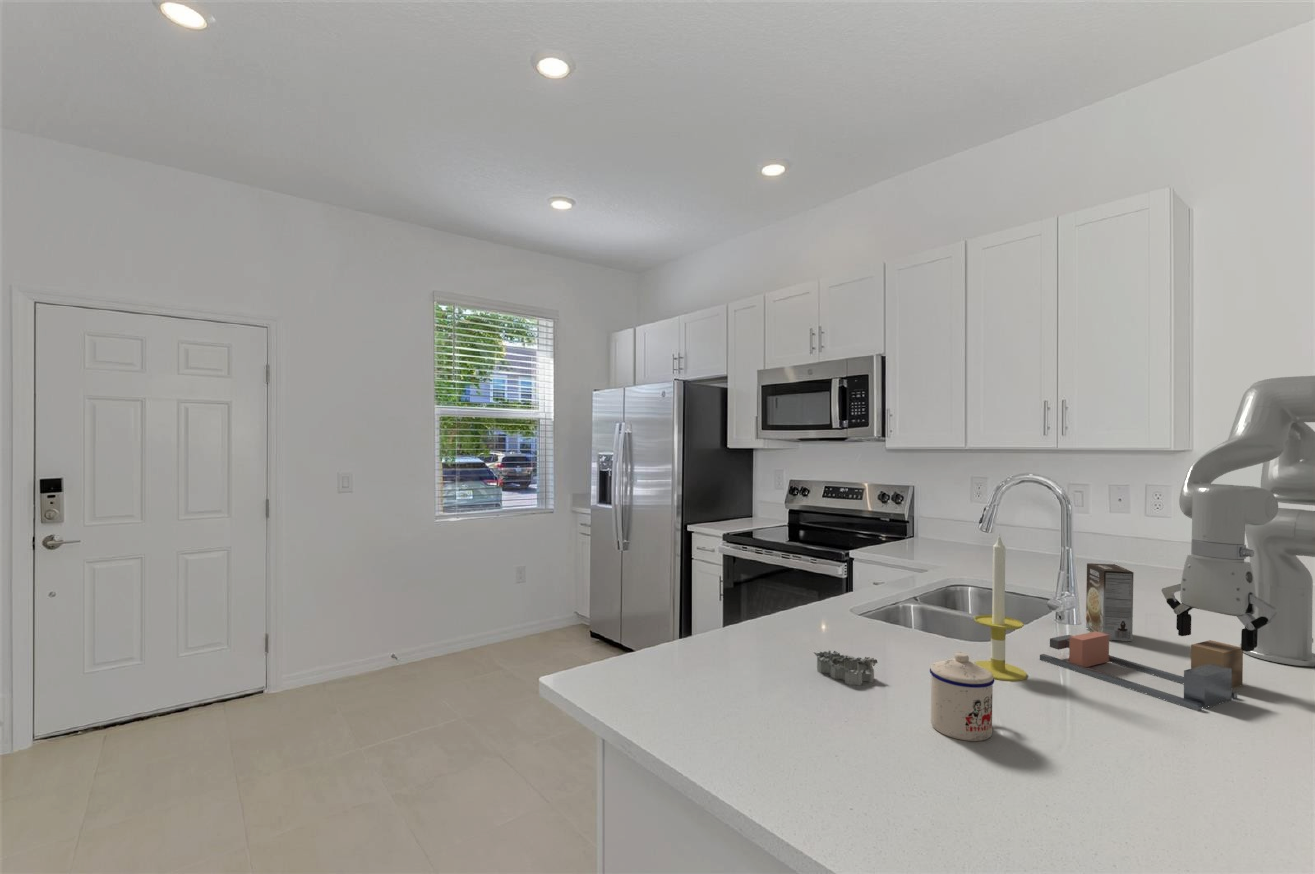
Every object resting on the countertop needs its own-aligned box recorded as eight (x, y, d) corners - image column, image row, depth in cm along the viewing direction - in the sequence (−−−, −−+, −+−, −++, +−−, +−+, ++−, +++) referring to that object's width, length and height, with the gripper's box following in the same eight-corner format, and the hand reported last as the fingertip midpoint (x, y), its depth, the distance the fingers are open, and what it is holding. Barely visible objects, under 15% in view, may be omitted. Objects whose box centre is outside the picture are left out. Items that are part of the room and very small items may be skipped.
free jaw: (1072, 650, 136) (1072, 625, 136) (1108, 661, 129) (1109, 634, 129) (1045, 656, 132) (1046, 630, 132) (1082, 668, 125) (1082, 640, 125)
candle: (969, 675, 121) (971, 535, 122) (968, 659, 130) (970, 528, 131) (1029, 684, 117) (1031, 539, 117) (1024, 667, 126) (1026, 532, 126)
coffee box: (1084, 628, 154) (1085, 562, 154) (1113, 630, 152) (1114, 563, 152) (1102, 640, 145) (1103, 570, 145) (1134, 642, 143) (1135, 571, 143)
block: (1209, 676, 123) (1210, 640, 123) (1242, 685, 119) (1242, 647, 119) (1190, 681, 120) (1191, 644, 120) (1223, 691, 116) (1223, 653, 116)
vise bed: (1078, 651, 137) (1078, 625, 137) (1237, 698, 112) (1237, 667, 112) (1039, 659, 131) (1040, 632, 131) (1198, 711, 106) (1198, 678, 107)
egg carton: (880, 682, 118) (880, 660, 118) (851, 689, 115) (851, 666, 115) (838, 663, 128) (838, 643, 128) (810, 669, 124) (810, 648, 124)
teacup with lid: (975, 749, 92) (976, 669, 92) (917, 725, 100) (918, 651, 100) (1013, 727, 99) (1014, 653, 99) (956, 707, 107) (957, 638, 107)
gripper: (1287, 558, 113) (1285, 655, 113) (1174, 543, 129) (1172, 628, 128) (1267, 560, 110) (1265, 659, 110) (1153, 544, 125) (1151, 631, 125)
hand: (1215, 642), depth 119 cm, fingers open, 9 cm apart
